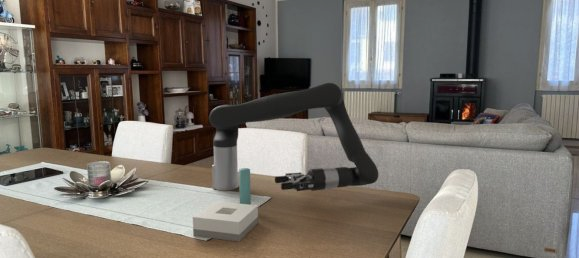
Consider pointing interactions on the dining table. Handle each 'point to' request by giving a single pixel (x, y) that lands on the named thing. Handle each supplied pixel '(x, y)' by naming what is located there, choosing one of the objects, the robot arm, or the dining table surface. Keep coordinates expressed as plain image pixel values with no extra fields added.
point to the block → (225, 221)
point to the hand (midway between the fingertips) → (278, 183)
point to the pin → (244, 186)
